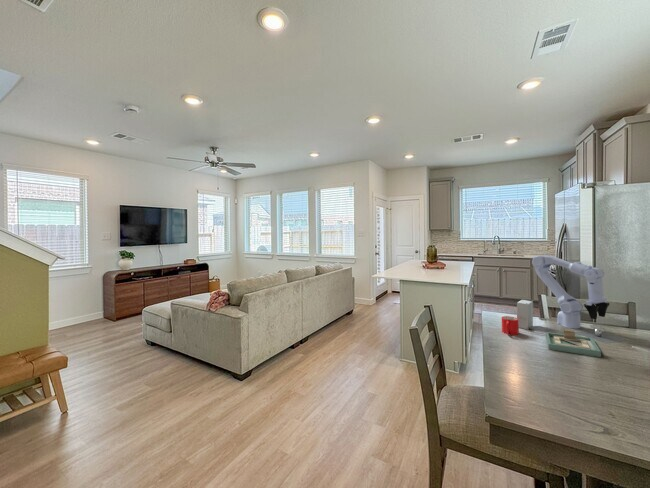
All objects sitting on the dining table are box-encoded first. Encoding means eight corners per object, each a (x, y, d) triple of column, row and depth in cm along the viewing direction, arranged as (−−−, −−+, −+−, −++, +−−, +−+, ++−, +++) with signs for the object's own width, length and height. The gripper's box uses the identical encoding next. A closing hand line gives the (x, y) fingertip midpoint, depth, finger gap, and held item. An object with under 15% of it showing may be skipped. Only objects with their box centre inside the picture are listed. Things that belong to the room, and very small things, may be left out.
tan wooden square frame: (590, 351, 129) (590, 340, 129) (556, 346, 136) (555, 335, 136) (585, 341, 139) (584, 331, 139) (553, 337, 146) (553, 327, 146)
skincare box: (521, 324, 170) (521, 299, 170) (533, 326, 166) (533, 300, 165) (516, 327, 165) (516, 301, 165) (528, 330, 160) (528, 303, 160)
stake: (589, 334, 147) (589, 325, 147) (593, 333, 147) (593, 325, 147) (603, 338, 141) (603, 329, 141) (607, 338, 141) (607, 329, 141)
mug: (499, 335, 154) (499, 320, 154) (503, 329, 164) (502, 315, 163) (516, 338, 149) (516, 323, 149) (519, 331, 159) (519, 317, 158)
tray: (548, 349, 135) (548, 343, 135) (545, 336, 150) (545, 332, 150) (600, 357, 125) (600, 351, 125) (592, 343, 140) (592, 337, 140)
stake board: (572, 335, 150) (572, 332, 150) (596, 332, 153) (596, 329, 153) (605, 346, 136) (605, 343, 136) (630, 342, 138) (630, 339, 138)
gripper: (597, 293, 142) (599, 321, 142) (613, 290, 148) (615, 317, 147) (580, 292, 149) (582, 318, 148) (596, 289, 154) (598, 314, 154)
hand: (597, 317), depth 148 cm, fingers open, 7 cm apart
